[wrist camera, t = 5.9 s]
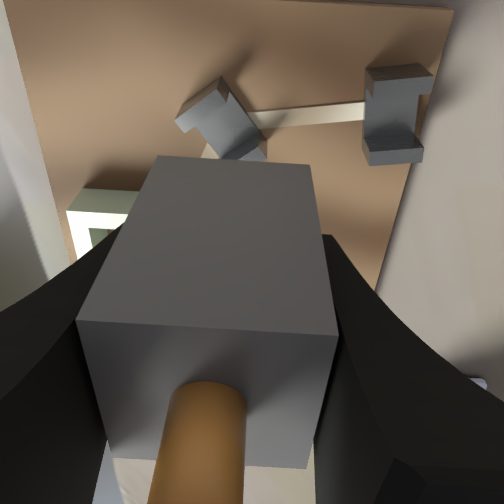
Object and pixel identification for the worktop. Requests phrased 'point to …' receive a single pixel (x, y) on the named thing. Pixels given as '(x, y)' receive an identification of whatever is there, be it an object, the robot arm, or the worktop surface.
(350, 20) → the board
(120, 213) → the frame
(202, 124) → the clips
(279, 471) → the worktop surface
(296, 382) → the connector plug
